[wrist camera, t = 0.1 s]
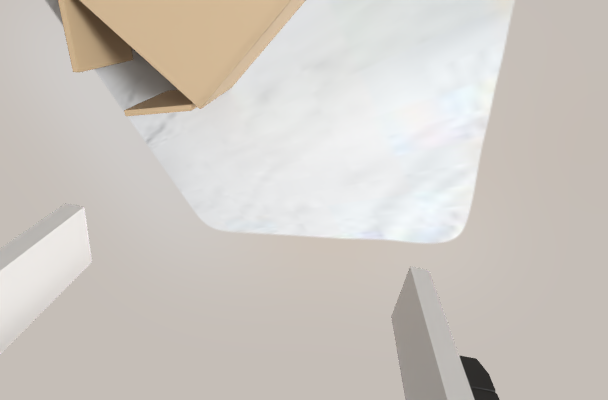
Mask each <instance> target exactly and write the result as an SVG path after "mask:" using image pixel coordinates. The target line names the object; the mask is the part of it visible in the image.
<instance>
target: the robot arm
mask: <svg viewBox="0 0 608 400" xmlns="http://www.w3.org/2000/svg"><path fill="white" fill-rule="evenodd" d="M84 209H85V208H84V207H83V206H77V205H72V204H66V203H65V204H64V205H62V206H61V207H59V208H58V209H56V210H55V211H54V212H52V213H51V214H49V215H48V216H46V217H45V218H44V219H42V220H41V221H39V222H38V223H36V224H35V225H33V226H32V227H31V228H29V229H28V230H26V231H25V232H23V233H22V234H20V235H19V236H18V237H16V238H15V239H13V240H12V241H11V242H9V243H8V244H6V245H5V246H3V247H2V248H1V249H0V354H1V353H2V352H3V351H4V350H5V349H6V348H7V347H8V346H9V345H10V344H11V343H12V342H13V341H14V340H15V339H16V338H17V337H18V336H19V335H20V334H21V333H22V332H23V331H24V330H25V329H26V328H27V327H28V326H29V325H30V324H31V323H32V322H33V321H34V320H35V319H36V318H37V317H38V316H39V315H40V314H41V313H42V312H43V310H45V309H46V308H47V307H48V306H49V305H50V304H51V303H52V302H53V301H54V300H55V299H56V298H57V297H58V296H59V295H60V294H61V293H62V292H63V291H64V290H65V289H66V288H67V287H68V286H69V285H70V284H71V283H72V282H73V281H74V280H75V279H76V278H77V276H78V275H80V274H81V273H82V272H83V271H84V270H85V268H87V267H88V266H89V265H90V264H91V262H92V258H91V250H90V243H89V236H88V229H87V223H86V215H85V210H84ZM392 323H393V329H394V335H395V340H396V346H397V353H398V358H399V364H400V370H401V376H402V382H403V388H404V393H405V399H406V400H499V398H498V395H497V394H496V393H495V388H494V386H493V383H492V381H491V379H490V376H489V374H488V373H487V371H486V370H485V369H484V368H483V366H482V365H481V364H480V363H479V361H478V360H477V359H475V358H469V357H464V356H459V354H458V351H457V348H456V345H455V342H454V339H453V337H452V334H451V331H450V328H449V325H448V322H447V320H446V316H445V314H444V311H443V308H442V305H441V302H440V299H439V297H438V294H437V291H436V288H435V285H434V282H433V280H432V277H431V274H430V271H429V270H427V269H421V268H416V267H410V268H409V271H408V274H407V277H406V279H405V282H404V284H403V288H402V290H401V292H400V295H399V298H398V300H397V303H396V306H395V309H394V311H393V314H392Z"/></svg>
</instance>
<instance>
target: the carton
mask: <svg viewBox="0 0 608 400" xmlns="http://www.w3.org/2000/svg"><path fill="white" fill-rule="evenodd" d="M80 1H81V2H82V3H83V4H84V5H85V6H87V7H88V8H89V9H90V10H91V11H92V12H93V13H94V14H95V15H96V16H98V17H99V18H100V19H101V20H102V21H103V22H104V23H105V24H106V25H108V26H109V27H110V28H111V29H112V30H113V31H114V32H115V33H116V34H117V35H119V36H120V37H121V38H122V39H123V40H124V41H125V42H126V43H127V44H129V45H130V46H131V47H132V48H133V49H134V50H135V51H136V52H137V53H139V54H140V55H141V56H142V57H143V58H144V59H145V60H146V61H147V62H148V63H150V64H151V65H152V66H153V67H154V68H155V69H156V70H157V71H158V72H160V73H161V74H162V75H163V76H164V77H165V78H166V79H167V80H168V81H170V82H171V83H172V84H173V85H174V86H175V87H176V88H177V89H178V90H179V91H181V92H182V93H183V94H184V95H185V96H186V97H187V98H188V99H189V100H191V101H192V102H193V103H194V104H195V105H196V106H197V107H198V108H199V109H201V108H203V107H204V106H206V105H207V104H209V103H210V102H211V101H213V100H214V99H216V98H217V97H219V96H220V95H222V94H223V93H224V92H226V91H227V90H229V89H230V88H232V86H233V85H234V84H235V83H236V82H237V81H238V79H239V78H240V77H241V76H242V75H243V74H244V72H245V71H246V70H247V69H248V68H249V66H250V65H251V64H252V63H253V62H254V61H255V59H256V58H257V57H258V56H259V55H260V53H261V52H262V51H263V50H264V49H265V48H266V46H267V45H268V44H269V43H270V42H271V41H272V39H273V38H274V37H275V36H276V35H277V33H278V32H279V31H280V30H281V29H282V28H283V26H284V25H285V24H286V23H287V22H288V21H289V19H290V18H291V17H292V16H293V15H294V13H295V12H296V11H297V10H298V9H299V8H300V6H301V5H302V4H303V3H304V2H305V0H80Z"/></svg>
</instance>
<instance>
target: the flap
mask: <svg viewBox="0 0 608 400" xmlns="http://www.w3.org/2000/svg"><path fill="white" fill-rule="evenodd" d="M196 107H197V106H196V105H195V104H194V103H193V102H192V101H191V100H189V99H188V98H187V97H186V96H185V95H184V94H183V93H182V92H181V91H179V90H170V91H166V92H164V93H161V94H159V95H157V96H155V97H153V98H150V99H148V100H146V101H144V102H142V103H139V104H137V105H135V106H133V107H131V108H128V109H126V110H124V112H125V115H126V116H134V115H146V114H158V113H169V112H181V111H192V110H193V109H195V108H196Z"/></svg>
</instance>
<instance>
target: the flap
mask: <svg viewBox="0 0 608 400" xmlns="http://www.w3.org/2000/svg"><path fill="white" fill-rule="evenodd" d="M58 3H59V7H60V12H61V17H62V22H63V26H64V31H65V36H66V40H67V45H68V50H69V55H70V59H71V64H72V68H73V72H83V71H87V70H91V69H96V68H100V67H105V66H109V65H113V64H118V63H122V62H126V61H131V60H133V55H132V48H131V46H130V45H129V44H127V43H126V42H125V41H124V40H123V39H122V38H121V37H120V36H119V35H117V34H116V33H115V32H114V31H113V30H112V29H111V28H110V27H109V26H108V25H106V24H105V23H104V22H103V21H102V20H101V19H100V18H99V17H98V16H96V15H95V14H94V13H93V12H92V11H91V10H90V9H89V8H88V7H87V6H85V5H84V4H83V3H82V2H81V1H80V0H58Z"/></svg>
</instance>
